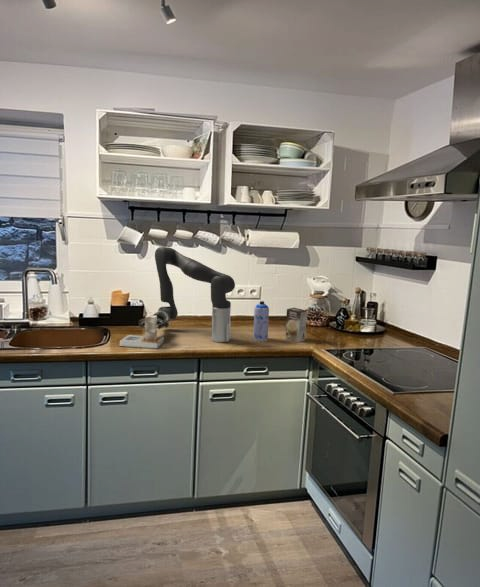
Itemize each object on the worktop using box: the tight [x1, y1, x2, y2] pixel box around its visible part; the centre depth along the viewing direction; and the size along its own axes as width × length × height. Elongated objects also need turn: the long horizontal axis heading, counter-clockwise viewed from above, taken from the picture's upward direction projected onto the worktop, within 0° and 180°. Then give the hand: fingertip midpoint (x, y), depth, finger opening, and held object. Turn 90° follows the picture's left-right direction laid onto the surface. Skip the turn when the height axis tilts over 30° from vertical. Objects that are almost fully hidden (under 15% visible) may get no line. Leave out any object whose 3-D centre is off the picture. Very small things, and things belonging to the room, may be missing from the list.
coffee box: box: [284, 307, 308, 343], centre depth 242 cm, size 9×6×16 cm
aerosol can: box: [252, 300, 270, 342], centre depth 239 cm, size 8×8×20 cm
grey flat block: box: [119, 334, 165, 349], centre depth 223 cm, size 18×12×3 cm, turn 84°
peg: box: [144, 314, 158, 341], centre depth 222 cm, size 4×4×14 cm
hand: (150, 326), depth 220 cm, fingers open, 8 cm apart
